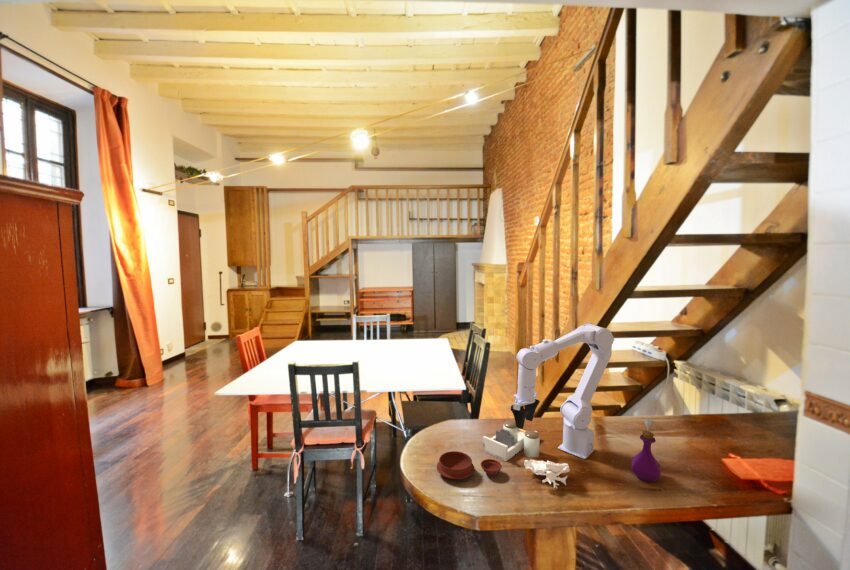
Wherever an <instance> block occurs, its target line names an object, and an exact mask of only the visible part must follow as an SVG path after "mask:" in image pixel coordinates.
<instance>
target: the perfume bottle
mask: <svg viewBox="0 0 850 570" xmlns="http://www.w3.org/2000/svg"><path fill="white" fill-rule="evenodd" d="M642 419H643V423H644V426H645V427H646V428H647V430H645V429H644V430H642V434H640V436H639V439H640V440H642V442H643V447H642V449H641V450H640V451H639V452H638V453H637V454H635V455H634V456H632V459H631V471H632V472H633V474H634V475H635V477H636V478H637V479H639V480H642V481H647V482H649V481H650V483H655V482H656V481H657V480H659V479H660V478H661V476H662V475H661V464H660V462H659V461H658V460H657V459H656V458H655V456H654V455H653V452H652V444H654V443H656V438H655V437H654V433H653V432H651V431H650V430H649V429H650V428H651V427H653V425H654V424H655V420H654V419H649V418H642Z"/></svg>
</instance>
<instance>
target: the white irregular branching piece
mask: <svg viewBox="0 0 850 570" xmlns="http://www.w3.org/2000/svg"><path fill="white" fill-rule="evenodd" d="M523 465H524V468H525V469H526V470H531V471H532V473H534V474H535V475H537V476H539V475H540V476H546V477H545V479H544V478H543V480H541V482H542V483H543V484H544V483H546V482H548V483H549V485H552V483H553V489H555V488H556V489H558V487H557V486H560V484H559V483H557V482H556V481H559V482H561V483H562V484H564V485H565V486H567V481H566V480H567V478H568V475H566V476H564V477H560V476H559V475H560V474H566V473H569V472H570V466H569V464H568V463H567V462H566V463H564V462H562V463H560V462H557V463H556V462H554V461H550V460H546V461H544V460H535V459H529V460H528V459H525V460H524V461H523Z"/></svg>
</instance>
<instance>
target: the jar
mask: <svg viewBox="0 0 850 570" xmlns="http://www.w3.org/2000/svg"><path fill="white" fill-rule="evenodd" d="M525 431H526V432H525V434H524V449H523V455H525V457H526V456H527V457H528V458H533V459H534V458H538V457H539V456H540V438H541V437H540V434H539V433H538V431H537V432H535V431H536V430H525Z"/></svg>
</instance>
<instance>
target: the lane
mask: <svg viewBox="0 0 850 570" xmlns="http://www.w3.org/2000/svg"><path fill="white" fill-rule="evenodd" d="M526 431H527V430H525V429H520V428H518V443H516V444H515V445H513V446H512V447H510V448H509V449H508V446H507V445H505V444H502V443H500V442H498V441H496V434H495V435H493V436H492V437H488V436H487V435H483V436H482V452H484V451H485V452H484V453H487V454H489V455H490V456H493V457H495V458H497V459H500V460H501V461H503V462H507V461H509V460H510V459H512V458H513V457H514V456H515V454H516V455H517V454H518V453H520V452H521V451H523V450H524V449H523V448H524V434H525V432H526ZM534 431H535V432H537V433H538V431H537V430H534ZM519 451H520V452H519Z"/></svg>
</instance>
